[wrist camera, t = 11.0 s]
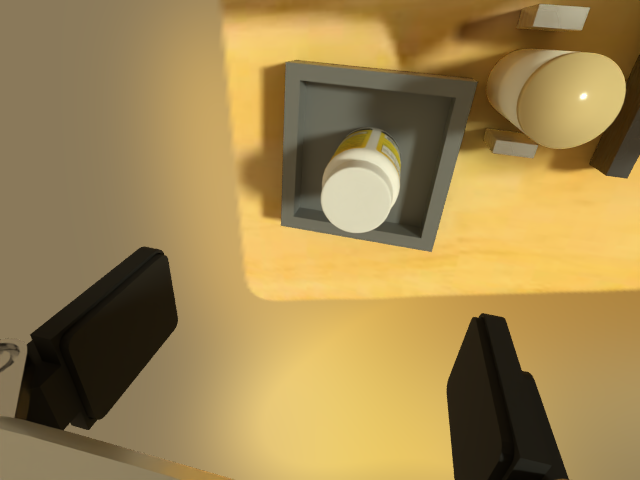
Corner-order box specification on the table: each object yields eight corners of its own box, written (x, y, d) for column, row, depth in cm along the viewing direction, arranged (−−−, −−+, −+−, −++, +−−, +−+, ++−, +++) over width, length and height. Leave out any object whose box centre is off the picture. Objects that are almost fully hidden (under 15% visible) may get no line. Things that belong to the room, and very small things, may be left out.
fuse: (497, 45, 23) (540, 47, 15) (565, 51, 22) (645, 57, 15) (478, 111, 25) (508, 142, 17) (540, 118, 24) (599, 154, 17)
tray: (296, 60, 26) (285, 61, 24) (471, 78, 24) (477, 82, 22) (289, 213, 32) (280, 225, 30) (430, 236, 30) (431, 251, 28)
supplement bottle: (330, 177, 29) (304, 224, 22) (347, 117, 26) (323, 148, 19) (389, 196, 28) (382, 249, 21) (411, 137, 26) (412, 175, 19)
